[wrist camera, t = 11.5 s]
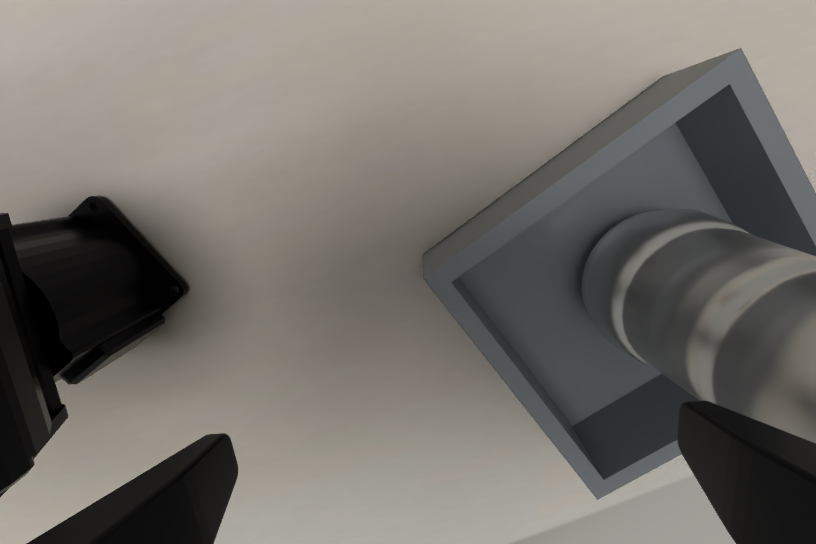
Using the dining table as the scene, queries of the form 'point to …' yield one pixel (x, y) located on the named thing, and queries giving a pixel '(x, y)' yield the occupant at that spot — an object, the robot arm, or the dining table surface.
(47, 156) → the dining table surface
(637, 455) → the tote
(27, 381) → the robot arm
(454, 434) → the dining table surface
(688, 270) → the plastic bottle
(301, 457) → the dining table surface
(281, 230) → the dining table surface
